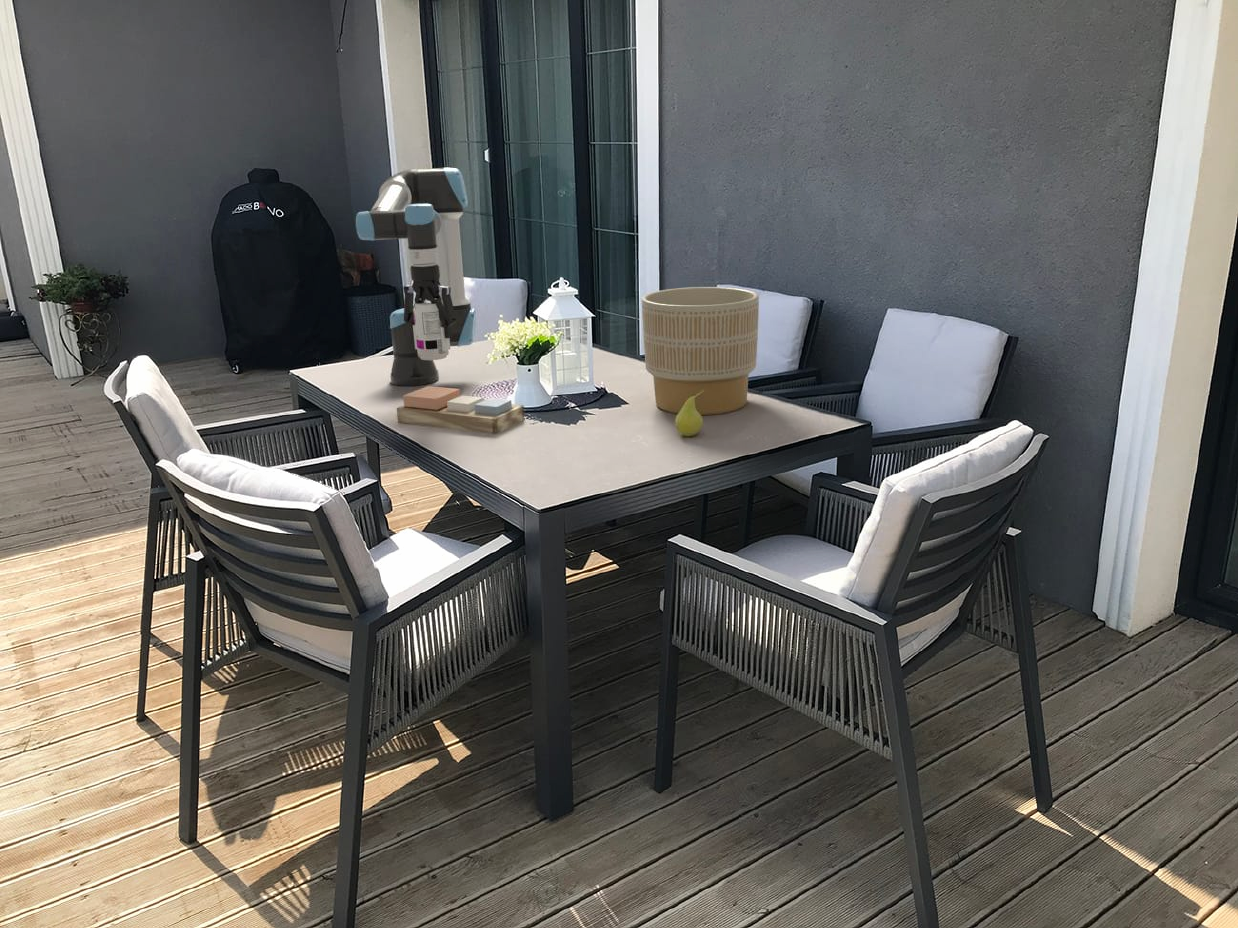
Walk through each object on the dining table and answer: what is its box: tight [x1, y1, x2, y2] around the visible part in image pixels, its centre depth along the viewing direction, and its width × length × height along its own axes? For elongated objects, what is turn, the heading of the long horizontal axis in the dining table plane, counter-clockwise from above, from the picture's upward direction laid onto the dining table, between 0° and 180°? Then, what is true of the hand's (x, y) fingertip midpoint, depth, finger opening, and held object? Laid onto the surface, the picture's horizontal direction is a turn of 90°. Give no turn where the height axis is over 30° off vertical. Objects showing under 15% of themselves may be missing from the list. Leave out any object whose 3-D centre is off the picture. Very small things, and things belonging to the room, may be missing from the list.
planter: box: [641, 286, 760, 416], centre depth 275 cm, size 32×32×30 cm
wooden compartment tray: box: [396, 403, 525, 435], centre depth 271 cm, size 14×32×4 cm, turn 63°
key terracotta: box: [402, 385, 462, 412], centre depth 274 cm, size 11×11×4 cm
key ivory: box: [447, 394, 484, 413], centre depth 270 cm, size 7×7×4 cm
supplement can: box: [413, 300, 450, 361], centre depth 268 cm, size 8×8×15 cm
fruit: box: [674, 389, 705, 437], centre depth 249 cm, size 7×8×12 cm
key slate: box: [475, 397, 513, 416], centre depth 266 cm, size 7×7×4 cm
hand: (432, 349), depth 270 cm, fingers closed on supplement can, 8 cm apart
